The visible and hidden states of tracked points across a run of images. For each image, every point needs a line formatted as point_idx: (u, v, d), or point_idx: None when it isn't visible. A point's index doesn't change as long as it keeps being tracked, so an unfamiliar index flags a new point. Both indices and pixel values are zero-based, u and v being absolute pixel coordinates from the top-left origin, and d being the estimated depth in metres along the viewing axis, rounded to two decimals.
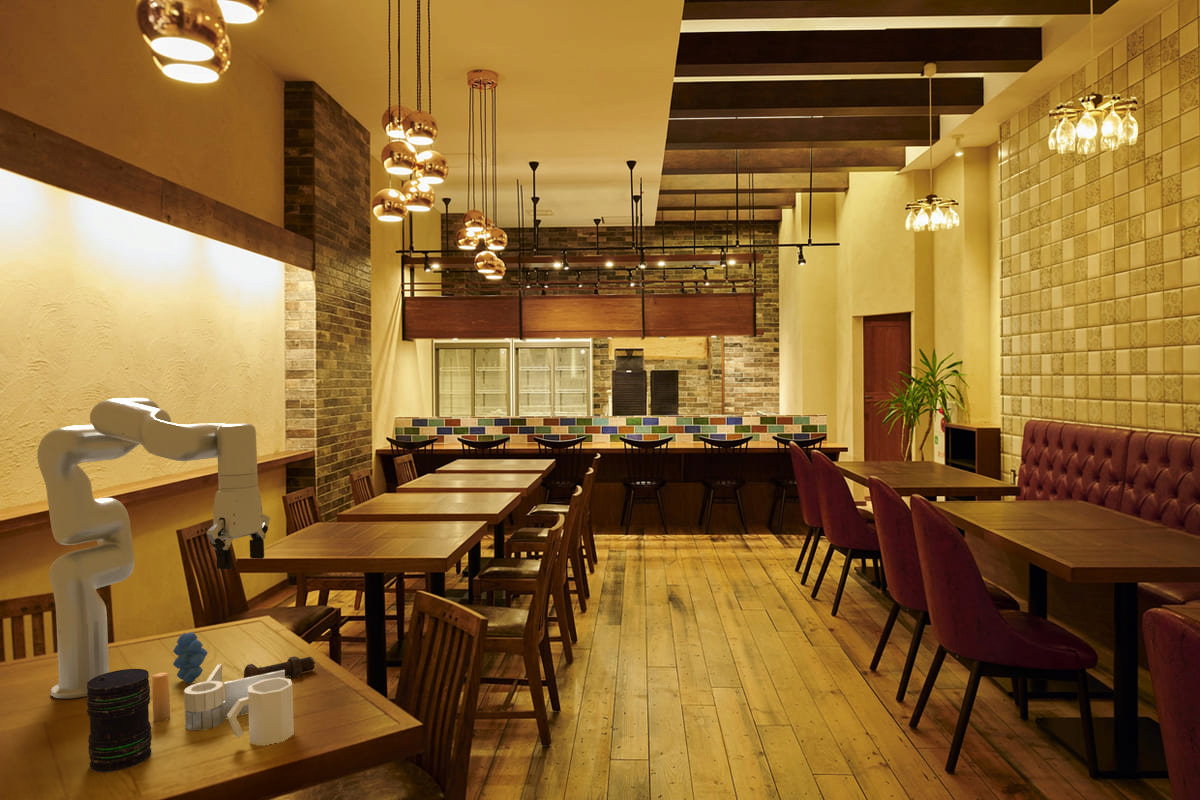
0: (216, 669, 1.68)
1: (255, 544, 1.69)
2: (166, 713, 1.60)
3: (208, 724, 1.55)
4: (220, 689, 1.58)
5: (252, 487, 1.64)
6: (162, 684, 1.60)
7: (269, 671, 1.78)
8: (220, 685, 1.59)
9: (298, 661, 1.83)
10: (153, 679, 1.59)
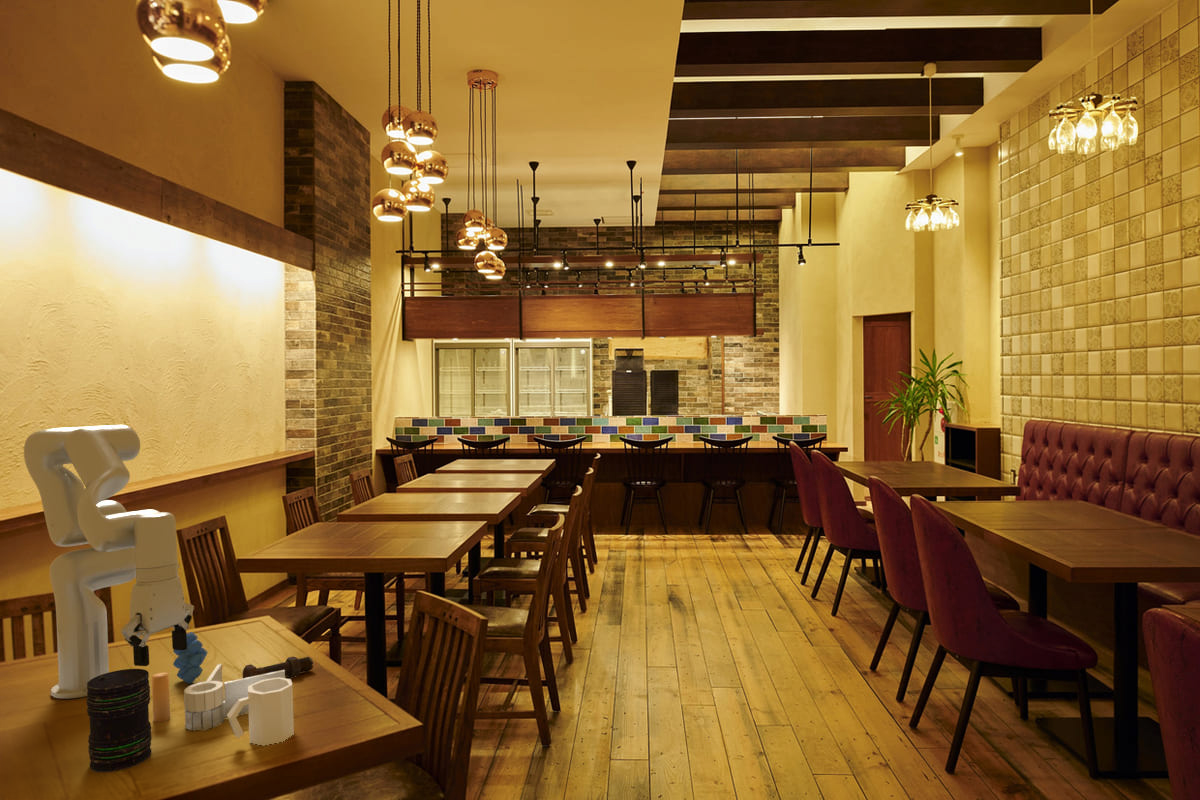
0: (216, 669, 1.68)
1: (178, 635, 1.65)
2: (166, 713, 1.60)
3: (208, 724, 1.55)
4: (220, 689, 1.58)
5: (171, 579, 1.59)
6: (162, 684, 1.60)
7: (268, 671, 1.78)
8: (220, 685, 1.59)
9: (297, 661, 1.83)
10: (153, 679, 1.59)
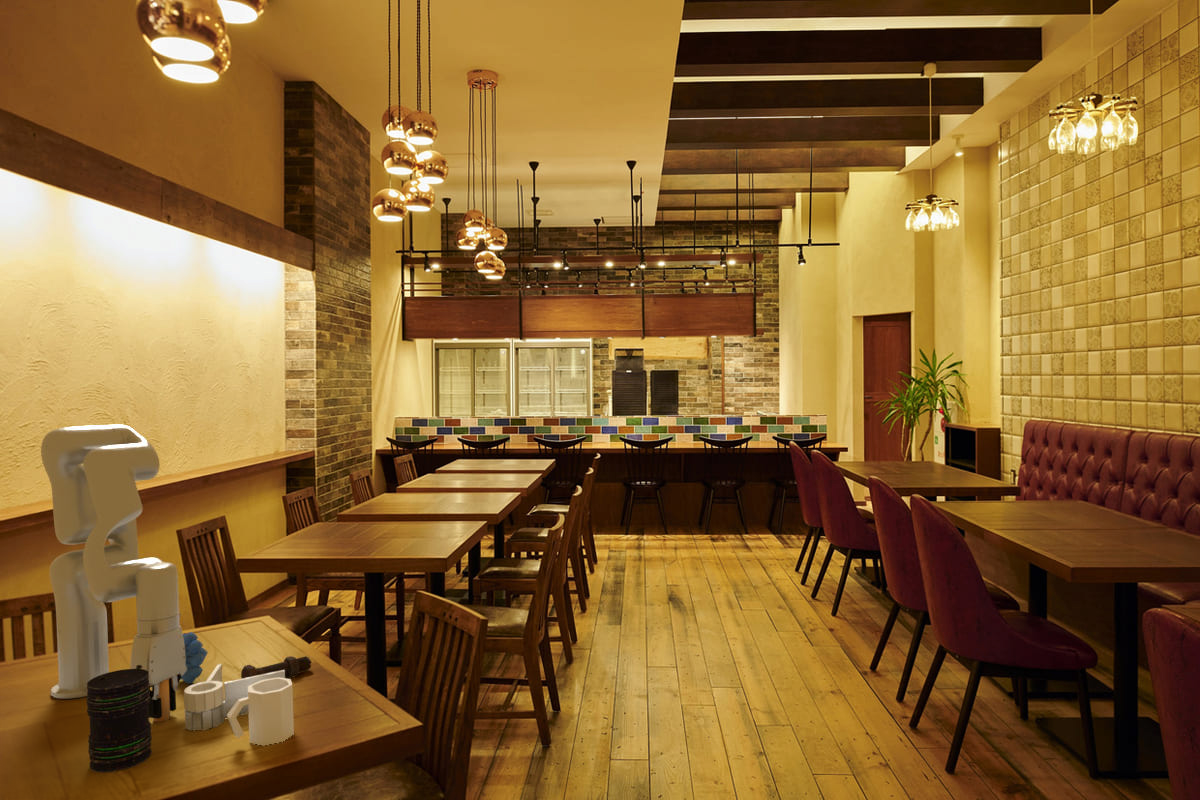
0: (216, 669, 1.68)
1: None
2: (166, 713, 1.60)
3: (208, 724, 1.55)
4: (220, 689, 1.58)
5: (172, 631, 1.59)
6: (162, 684, 1.60)
7: (267, 671, 1.78)
8: (220, 685, 1.59)
9: (295, 661, 1.83)
10: None
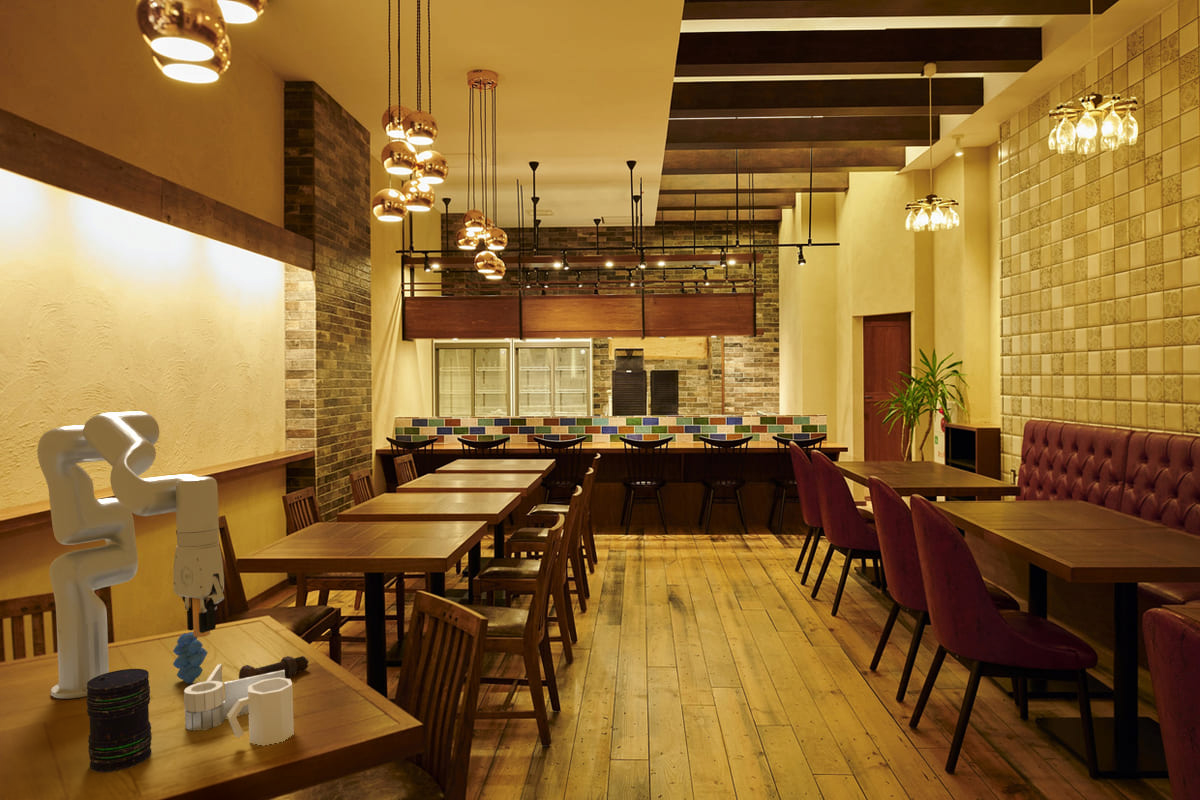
0: (216, 669, 1.68)
1: None
2: None
3: (208, 724, 1.55)
4: (220, 689, 1.58)
5: None
6: None
7: (266, 671, 1.78)
8: (220, 685, 1.59)
9: (293, 660, 1.83)
10: None
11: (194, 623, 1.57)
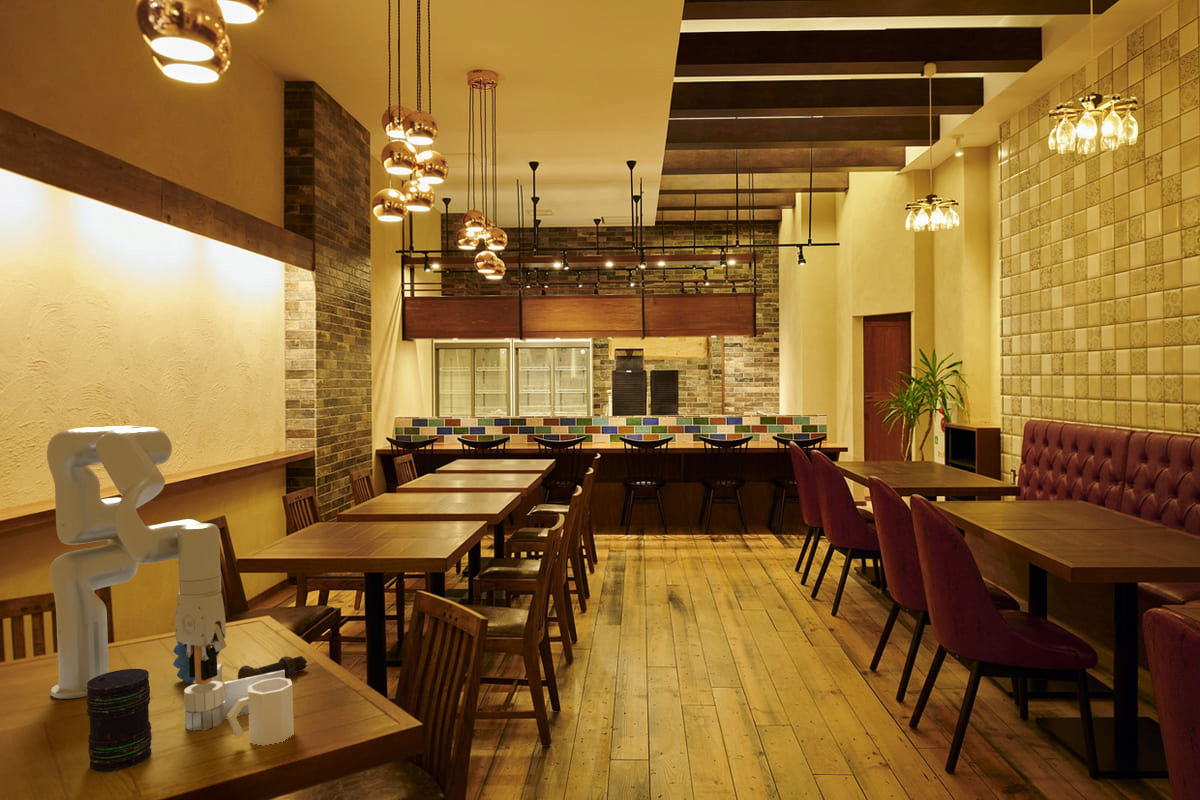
0: None
1: None
2: None
3: (208, 724, 1.55)
4: (220, 689, 1.58)
5: None
6: None
7: (265, 671, 1.78)
8: (220, 685, 1.59)
9: (291, 660, 1.83)
10: None
11: (196, 670, 1.57)
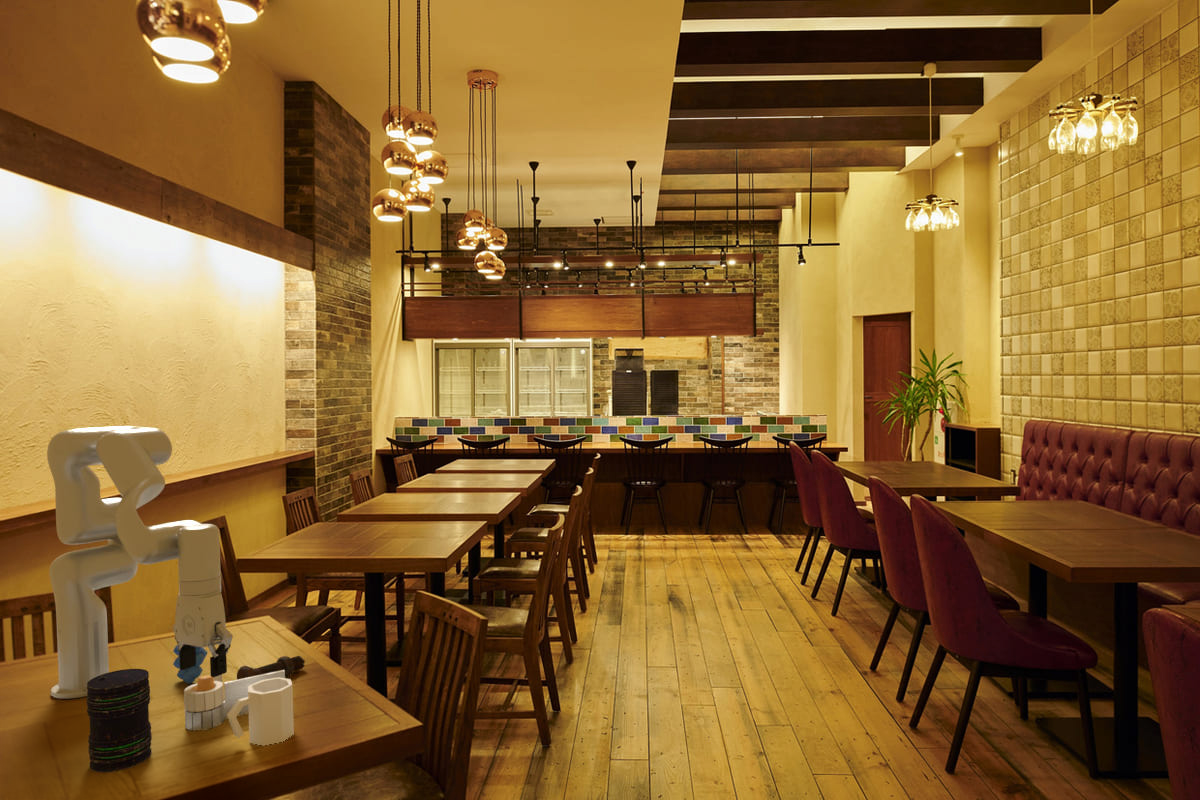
0: None
1: (189, 653, 1.60)
2: None
3: (208, 724, 1.55)
4: (220, 689, 1.58)
5: None
6: (213, 683, 1.59)
7: (264, 671, 1.78)
8: (220, 685, 1.59)
9: (290, 660, 1.83)
10: (208, 680, 1.58)
11: None
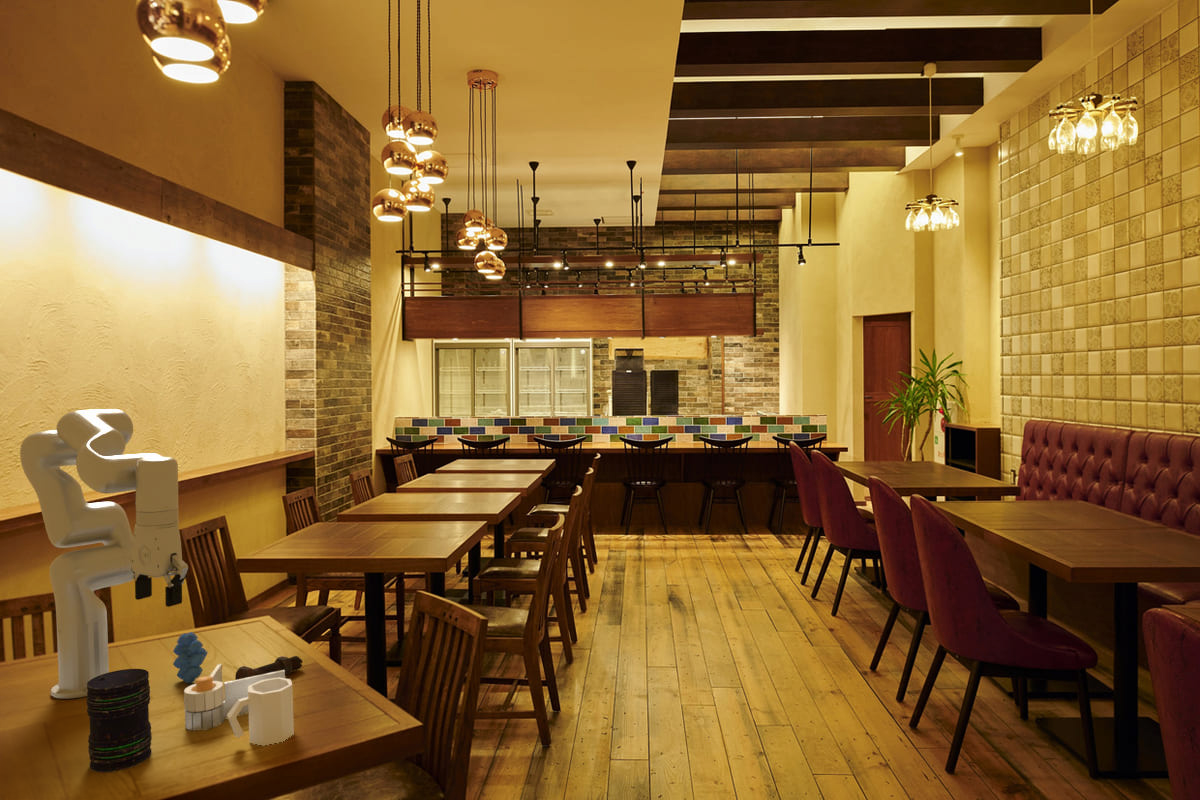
0: (216, 669, 1.68)
1: (145, 583, 1.62)
2: None
3: (208, 724, 1.55)
4: (220, 689, 1.58)
5: None
6: (212, 684, 1.59)
7: (263, 671, 1.78)
8: (220, 685, 1.59)
9: (288, 660, 1.83)
10: (207, 682, 1.57)
11: None
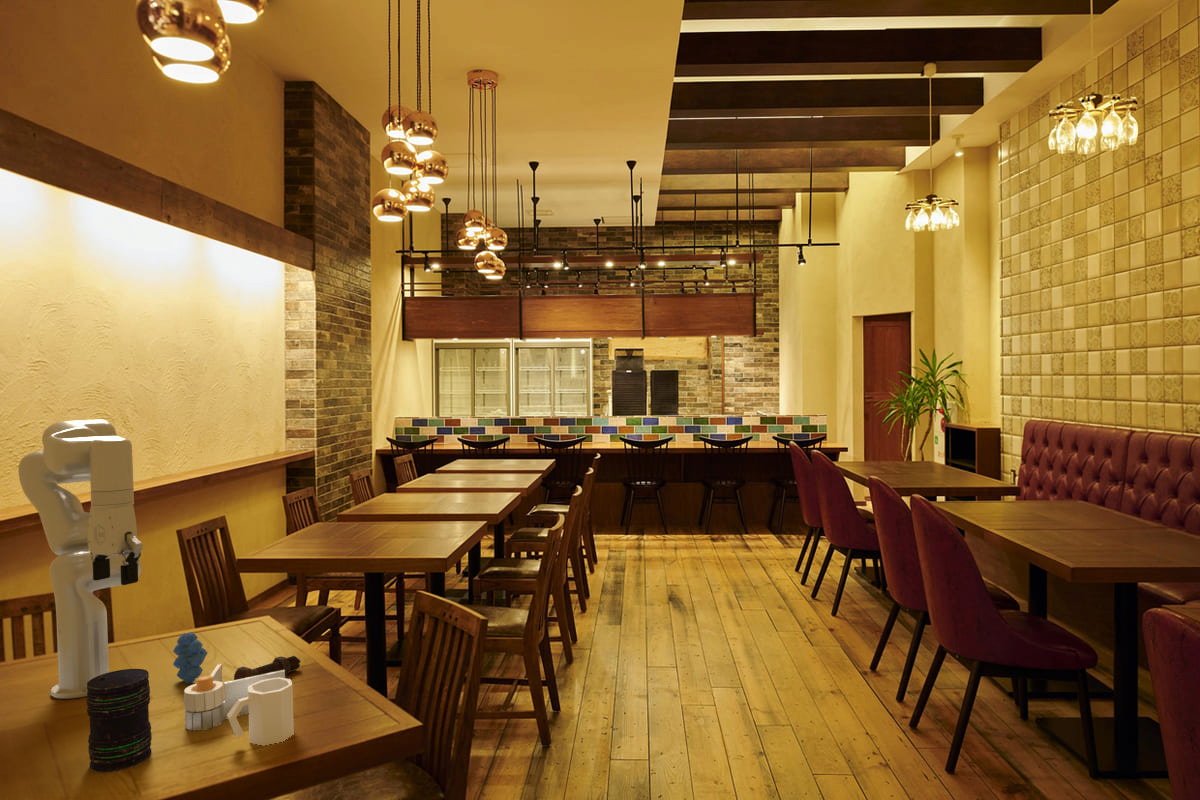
0: (216, 669, 1.68)
1: (102, 564, 1.64)
2: None
3: (208, 724, 1.55)
4: (220, 689, 1.58)
5: None
6: None
7: (262, 672, 1.78)
8: (220, 685, 1.59)
9: (286, 660, 1.83)
10: (208, 681, 1.57)
11: None
